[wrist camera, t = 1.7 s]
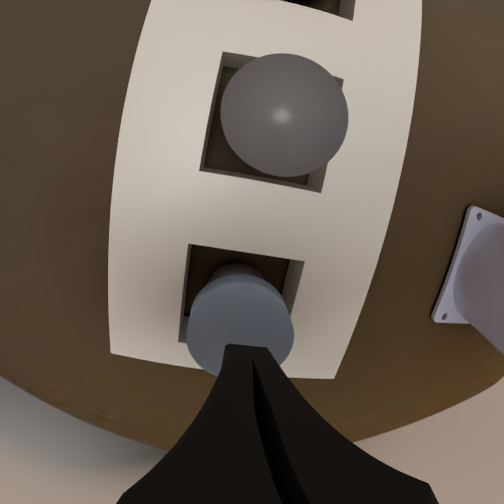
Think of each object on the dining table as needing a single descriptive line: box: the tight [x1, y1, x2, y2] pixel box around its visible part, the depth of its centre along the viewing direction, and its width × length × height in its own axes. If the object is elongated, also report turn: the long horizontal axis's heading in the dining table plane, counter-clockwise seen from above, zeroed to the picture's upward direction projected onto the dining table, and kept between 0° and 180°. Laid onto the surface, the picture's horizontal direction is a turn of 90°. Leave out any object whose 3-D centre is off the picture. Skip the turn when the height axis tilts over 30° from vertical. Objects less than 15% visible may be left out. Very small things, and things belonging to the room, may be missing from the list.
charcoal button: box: [220, 53, 348, 177], centre depth 11 cm, size 4×4×4 cm
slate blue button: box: [186, 263, 294, 377], centre depth 13 cm, size 4×4×4 cm
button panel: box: [108, 0, 422, 379], centre depth 13 cm, size 12×24×2 cm, turn 169°
